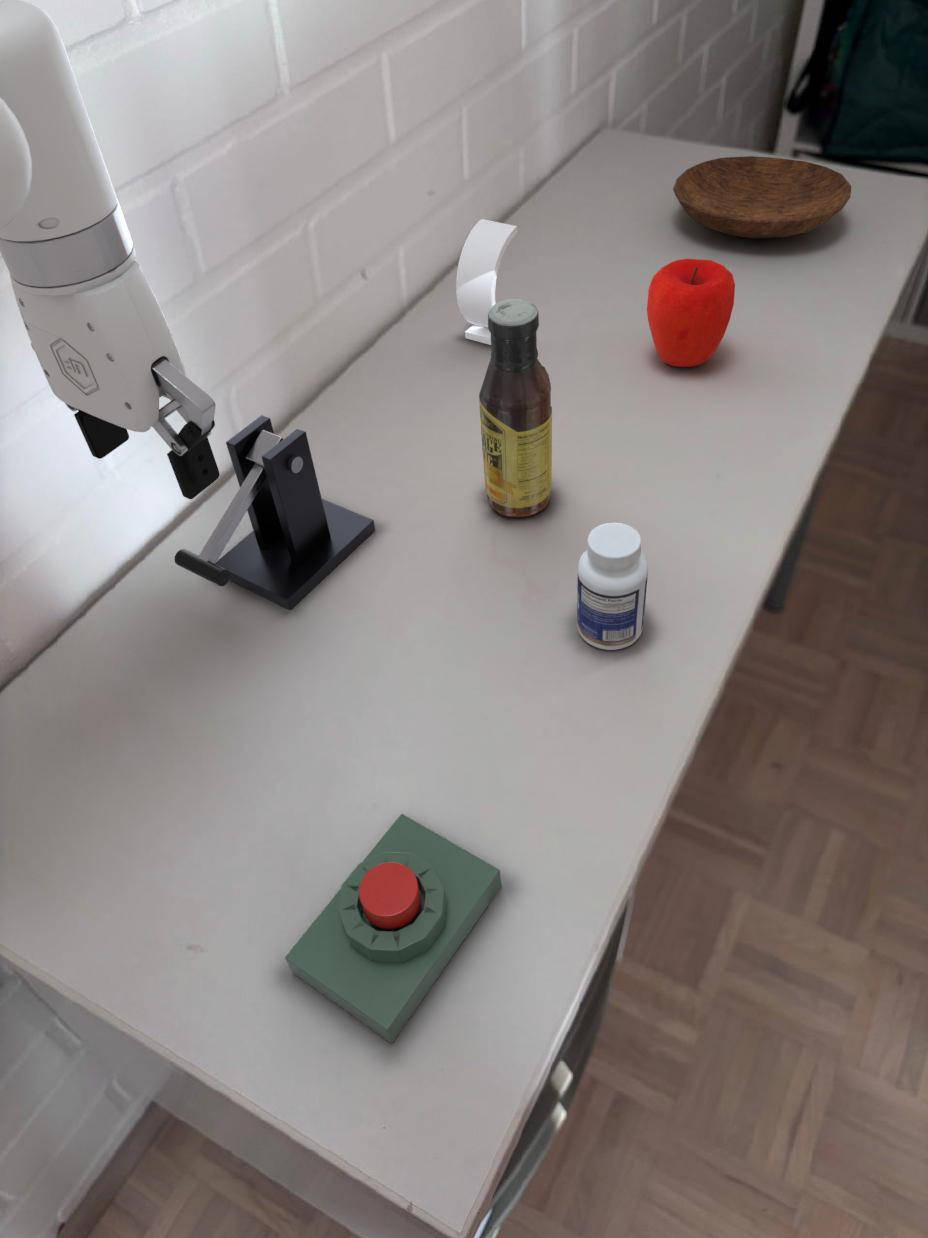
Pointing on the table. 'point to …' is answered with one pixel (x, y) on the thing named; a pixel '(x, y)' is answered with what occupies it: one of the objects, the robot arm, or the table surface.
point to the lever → (230, 517)
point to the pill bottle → (611, 587)
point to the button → (390, 895)
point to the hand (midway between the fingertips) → (156, 467)
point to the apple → (689, 310)
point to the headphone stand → (481, 274)
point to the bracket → (288, 522)
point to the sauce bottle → (516, 413)
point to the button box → (395, 930)
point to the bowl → (761, 195)
